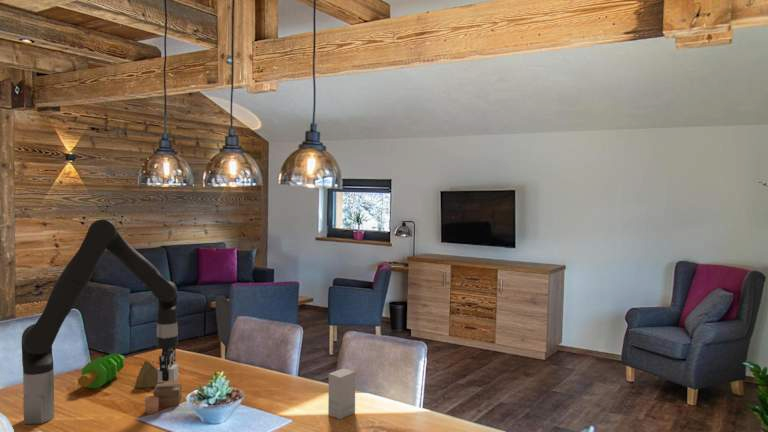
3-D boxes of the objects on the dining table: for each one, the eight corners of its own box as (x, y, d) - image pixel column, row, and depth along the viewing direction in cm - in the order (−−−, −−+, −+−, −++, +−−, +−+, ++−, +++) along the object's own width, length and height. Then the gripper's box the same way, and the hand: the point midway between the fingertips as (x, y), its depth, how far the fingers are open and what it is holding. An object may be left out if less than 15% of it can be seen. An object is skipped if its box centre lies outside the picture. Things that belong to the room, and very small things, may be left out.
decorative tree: (76, 362, 236) (117, 340, 266) (67, 388, 238) (108, 363, 267) (102, 374, 235) (140, 350, 265) (92, 400, 237) (131, 373, 267)
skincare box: (343, 408, 223) (343, 367, 223) (356, 413, 219) (356, 371, 218) (327, 415, 217) (327, 372, 216) (340, 420, 213) (340, 376, 212)
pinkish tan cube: (156, 414, 217) (156, 400, 216) (143, 414, 216) (143, 400, 216) (160, 409, 221) (160, 396, 221) (147, 409, 221) (147, 396, 221)
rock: (172, 377, 250) (153, 371, 254) (164, 365, 244) (145, 359, 248) (155, 399, 243) (136, 392, 247) (146, 387, 237) (128, 380, 241)
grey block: (174, 382, 226) (173, 369, 226) (157, 382, 225) (157, 369, 225) (178, 376, 232) (178, 364, 232) (162, 377, 231) (162, 364, 231)
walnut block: (179, 405, 226) (179, 389, 225) (153, 407, 224) (153, 391, 223) (181, 397, 234) (181, 382, 234) (157, 398, 232) (156, 383, 232)
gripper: (162, 329, 235) (163, 372, 235) (151, 339, 220) (152, 384, 221) (182, 329, 235) (182, 371, 236) (172, 339, 221) (173, 384, 222)
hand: (168, 377), depth 229 cm, fingers closed on grey block, 6 cm apart
